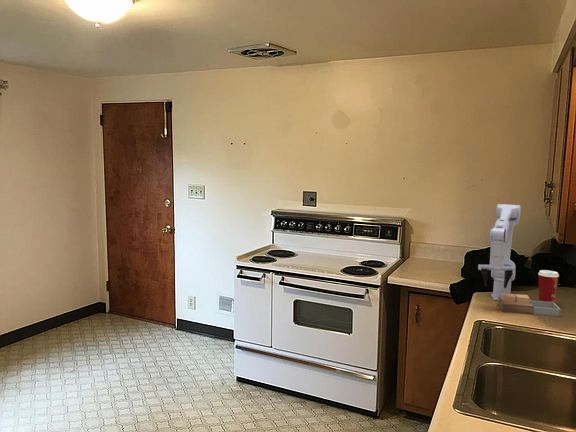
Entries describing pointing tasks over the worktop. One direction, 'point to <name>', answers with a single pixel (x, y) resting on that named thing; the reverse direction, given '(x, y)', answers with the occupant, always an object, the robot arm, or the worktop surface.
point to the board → (515, 307)
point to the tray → (545, 308)
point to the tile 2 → (522, 299)
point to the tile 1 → (508, 297)
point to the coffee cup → (547, 285)
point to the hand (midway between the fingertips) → (495, 286)
